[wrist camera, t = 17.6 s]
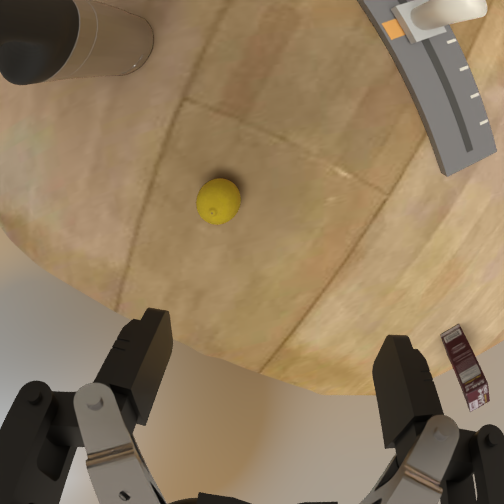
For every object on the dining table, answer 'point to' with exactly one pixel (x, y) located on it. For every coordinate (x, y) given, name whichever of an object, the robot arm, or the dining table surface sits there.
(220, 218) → the lemon
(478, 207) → the dining table surface
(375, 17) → the track board
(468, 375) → the supplement box
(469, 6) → the fader
